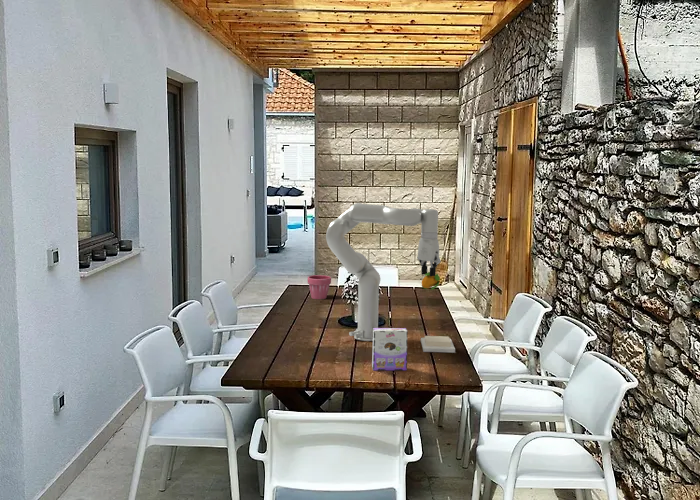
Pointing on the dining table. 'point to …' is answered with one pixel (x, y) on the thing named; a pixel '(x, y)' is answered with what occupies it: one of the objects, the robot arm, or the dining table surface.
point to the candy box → (389, 349)
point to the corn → (430, 281)
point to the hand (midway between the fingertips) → (428, 274)
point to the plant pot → (319, 286)
